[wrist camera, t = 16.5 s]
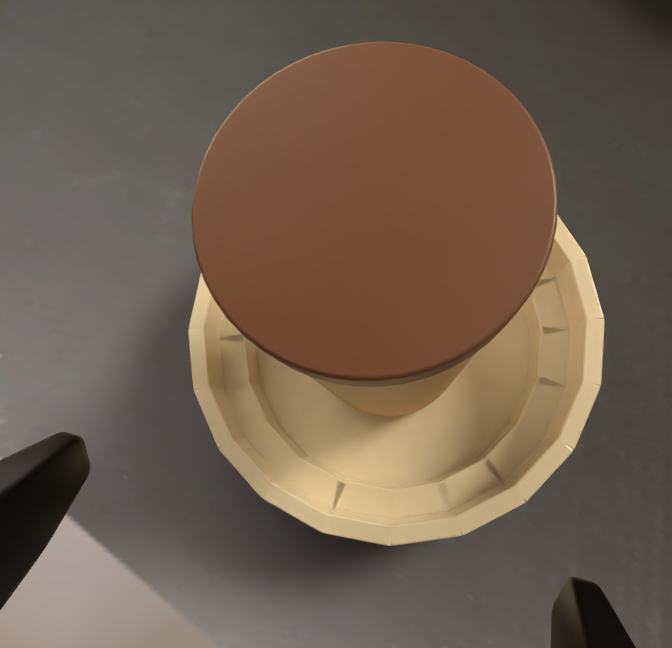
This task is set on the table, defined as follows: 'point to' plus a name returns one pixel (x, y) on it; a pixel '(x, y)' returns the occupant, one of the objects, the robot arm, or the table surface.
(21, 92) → the table surface
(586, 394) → the bowl
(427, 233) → the canister
